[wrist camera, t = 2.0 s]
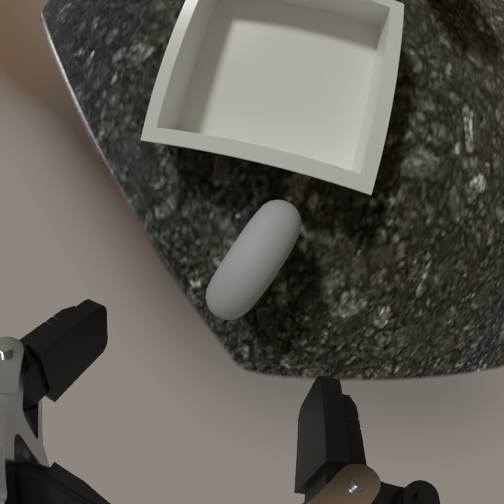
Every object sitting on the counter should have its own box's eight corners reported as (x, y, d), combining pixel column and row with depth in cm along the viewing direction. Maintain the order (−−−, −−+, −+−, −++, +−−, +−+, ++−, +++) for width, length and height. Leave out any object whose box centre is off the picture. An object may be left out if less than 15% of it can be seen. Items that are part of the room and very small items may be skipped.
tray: (389, 27, 18) (403, 4, 13) (356, 190, 23) (371, 195, 18) (214, -6, 19) (201, -31, 14) (166, 144, 25) (140, 140, 20)
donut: (275, 187, 24) (262, 195, 15) (308, 208, 24) (316, 231, 15) (218, 274, 27) (180, 326, 18) (248, 294, 27) (224, 354, 18)
